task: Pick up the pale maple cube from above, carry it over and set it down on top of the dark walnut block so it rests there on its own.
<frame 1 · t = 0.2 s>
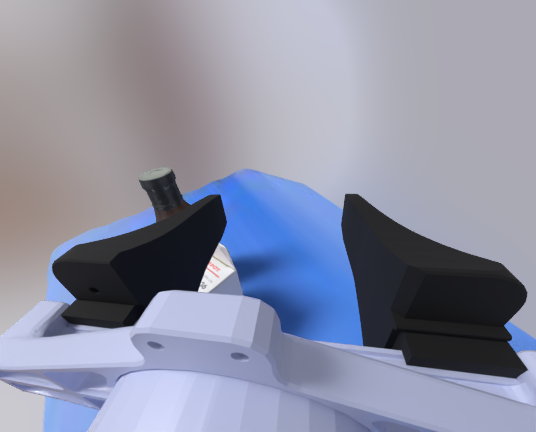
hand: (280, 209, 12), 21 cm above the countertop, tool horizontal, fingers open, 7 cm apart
ink cartridge box: (220, 326, 29), on the countertop
sauce bottle: (202, 279, 37), on the countertop
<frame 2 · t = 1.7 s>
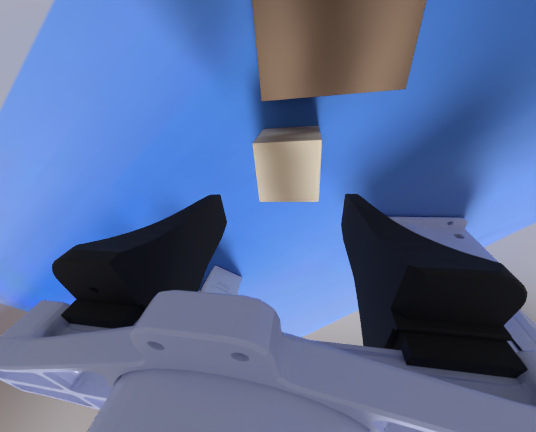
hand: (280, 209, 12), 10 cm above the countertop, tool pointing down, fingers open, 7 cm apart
maple cube: (291, 154, 21), on the countertop
walnut block: (330, 10, 15), on the countertop
ink cartridge box: (220, 283, 34), on the countertop
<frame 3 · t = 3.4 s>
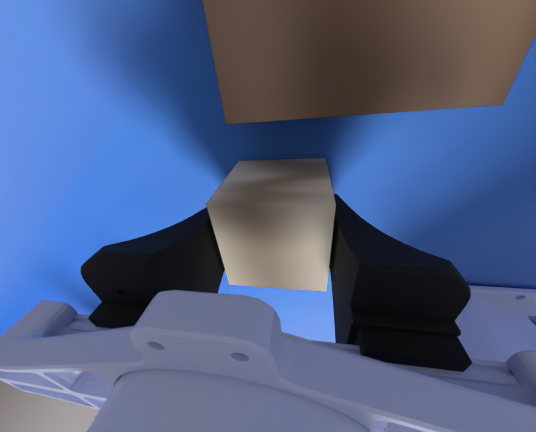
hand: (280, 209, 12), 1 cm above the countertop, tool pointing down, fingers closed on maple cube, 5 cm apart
maple cube: (282, 197, 13), on the countertop, touching gripper
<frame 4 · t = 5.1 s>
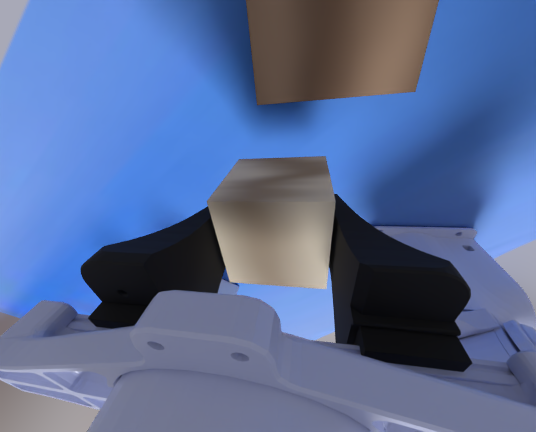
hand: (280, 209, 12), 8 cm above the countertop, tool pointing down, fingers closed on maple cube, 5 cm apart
maple cube: (282, 196, 13), point 7 cm above the countertop, touching gripper
walnut block: (332, 5, 13), on the countertop
when the fingers open (5 cm above the countertop, at t = 7.1 s): maple cube drops 1 cm, resting on walnut block.
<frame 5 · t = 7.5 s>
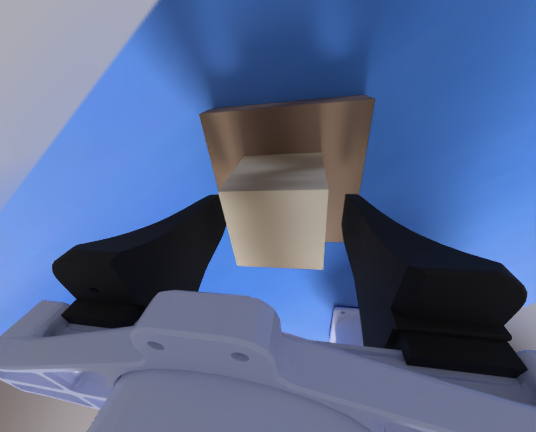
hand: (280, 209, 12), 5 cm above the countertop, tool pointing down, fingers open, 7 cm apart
maple cube: (283, 189, 15), point 2 cm above the countertop, touching walnut block
walnut block: (287, 170, 17), on the countertop, touching maple cube
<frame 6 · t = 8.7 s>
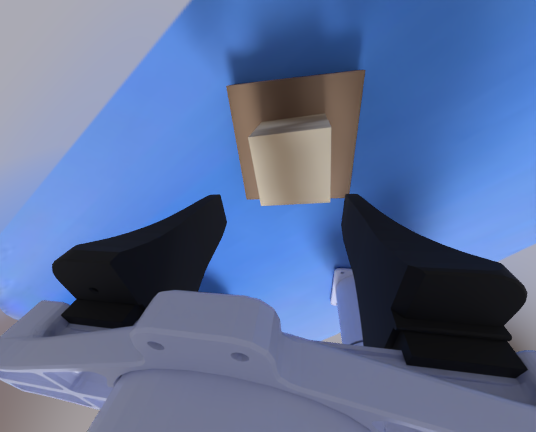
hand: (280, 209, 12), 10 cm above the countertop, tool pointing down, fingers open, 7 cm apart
maple cube: (294, 149, 18), point 2 cm above the countertop
walnut block: (295, 138, 20), on the countertop
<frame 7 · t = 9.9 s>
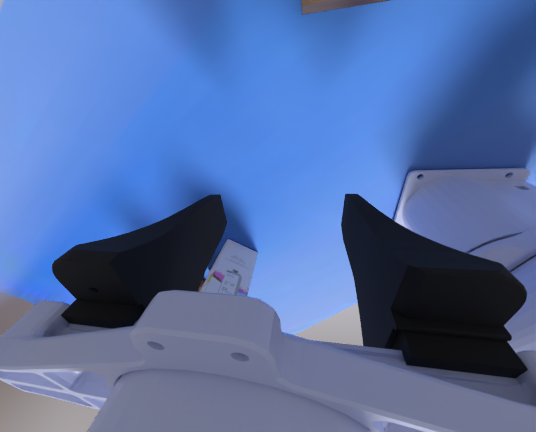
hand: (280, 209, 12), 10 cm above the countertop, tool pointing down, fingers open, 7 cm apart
ink cartridge box: (233, 261, 31), on the countertop
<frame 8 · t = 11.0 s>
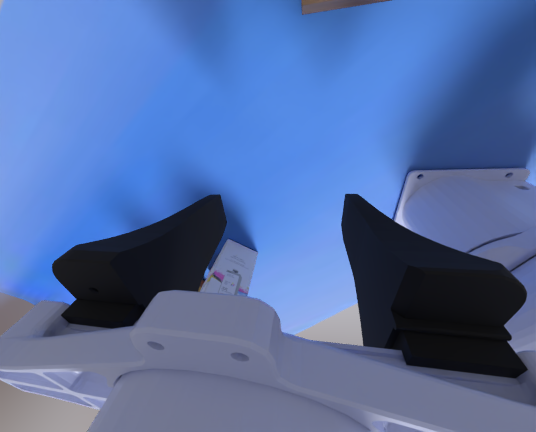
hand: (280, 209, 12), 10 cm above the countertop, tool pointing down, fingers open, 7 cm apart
ink cartridge box: (233, 261, 31), on the countertop
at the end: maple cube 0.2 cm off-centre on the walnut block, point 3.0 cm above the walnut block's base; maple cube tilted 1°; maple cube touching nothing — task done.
